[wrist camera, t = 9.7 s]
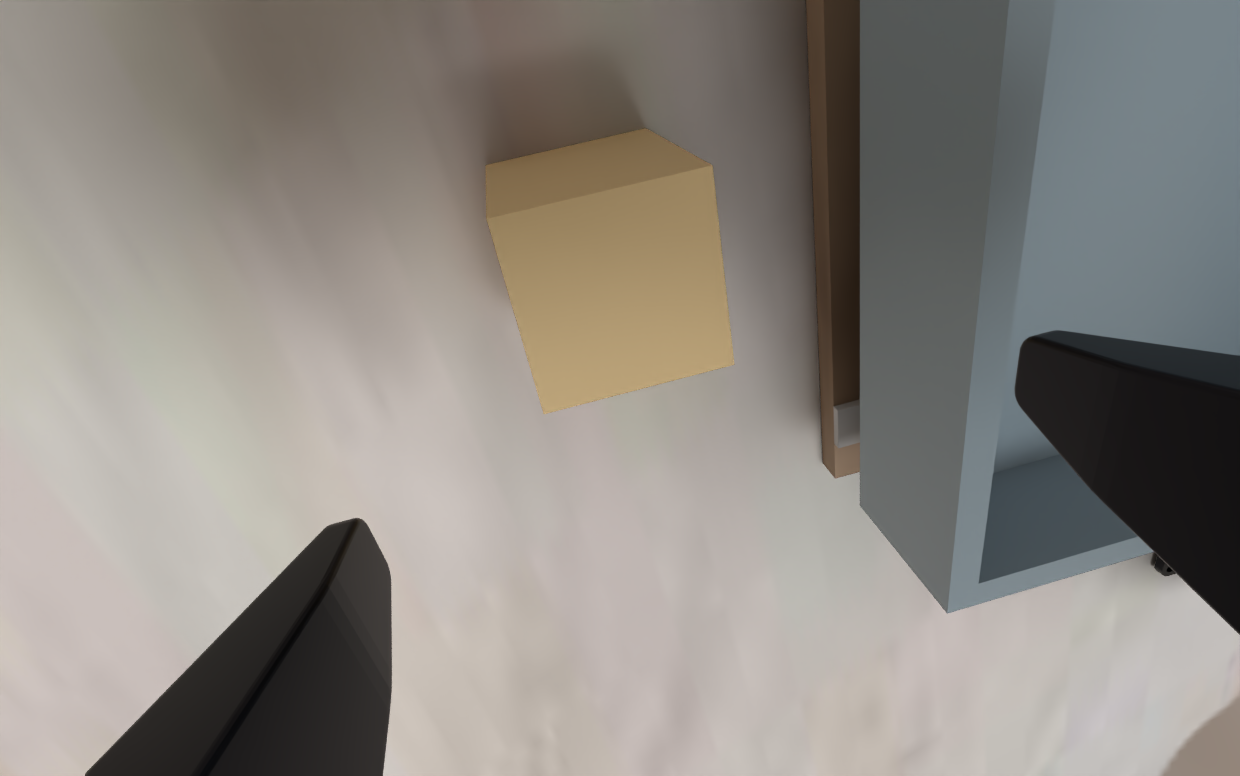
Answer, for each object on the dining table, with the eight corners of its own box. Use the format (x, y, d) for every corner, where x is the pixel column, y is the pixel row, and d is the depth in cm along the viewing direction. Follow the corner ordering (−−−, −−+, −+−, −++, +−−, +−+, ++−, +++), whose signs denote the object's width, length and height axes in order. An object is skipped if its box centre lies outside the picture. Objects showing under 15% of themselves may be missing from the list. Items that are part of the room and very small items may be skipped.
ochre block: (645, 127, 18) (712, 165, 13) (668, 279, 20) (734, 364, 15) (485, 164, 17) (485, 218, 12) (528, 315, 20) (543, 414, 14)
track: (1605, -505, 15) (1695, -549, 14) (1289, 334, 26) (1326, 347, 25) (793, -356, 14) (821, -392, 12) (822, 463, 25) (839, 483, 23)
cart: (1395, -416, 14) (2078, -757, 8) (1173, 366, 24) (1405, 476, 18) (799, -303, 13) (1069, -595, 7) (825, 462, 23) (947, 613, 17)
